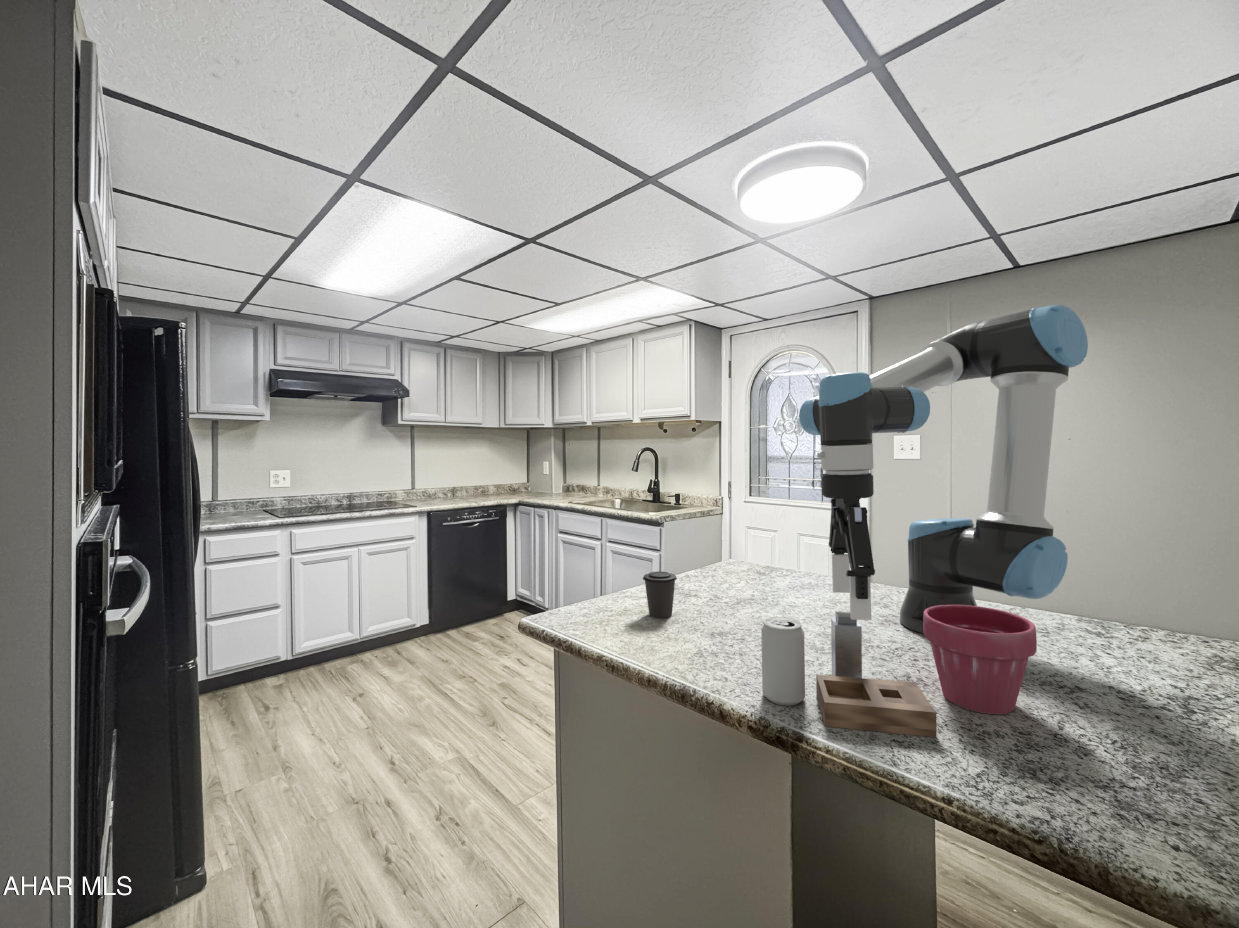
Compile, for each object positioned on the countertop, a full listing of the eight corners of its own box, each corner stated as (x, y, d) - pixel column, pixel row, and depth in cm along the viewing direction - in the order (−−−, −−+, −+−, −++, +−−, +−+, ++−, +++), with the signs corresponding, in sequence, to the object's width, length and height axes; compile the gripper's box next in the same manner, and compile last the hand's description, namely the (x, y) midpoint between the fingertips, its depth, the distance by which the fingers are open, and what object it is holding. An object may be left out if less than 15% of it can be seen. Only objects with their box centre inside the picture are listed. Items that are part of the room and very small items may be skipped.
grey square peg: (856, 676, 87) (856, 611, 87) (862, 687, 84) (861, 619, 83) (831, 674, 88) (831, 610, 88) (835, 685, 85) (835, 617, 84)
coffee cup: (644, 609, 126) (644, 568, 126) (678, 610, 125) (677, 569, 125) (641, 620, 118) (640, 577, 118) (677, 621, 117) (676, 577, 117)
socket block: (915, 704, 78) (915, 682, 78) (936, 737, 69) (936, 712, 69) (816, 695, 81) (816, 674, 81) (824, 726, 72) (824, 702, 72)
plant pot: (905, 679, 86) (905, 603, 86) (991, 678, 86) (991, 602, 85) (959, 725, 72) (959, 634, 71) (1062, 724, 71) (1063, 633, 71)
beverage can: (799, 712, 76) (799, 631, 76) (756, 701, 80) (755, 624, 79) (809, 694, 82) (808, 619, 81) (768, 685, 85) (767, 613, 85)
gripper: (809, 468, 95) (813, 582, 95) (837, 478, 70) (841, 632, 71) (853, 467, 93) (856, 583, 94) (897, 477, 69) (901, 634, 69)
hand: (850, 604), depth 82 cm, fingers open, 13 cm apart
